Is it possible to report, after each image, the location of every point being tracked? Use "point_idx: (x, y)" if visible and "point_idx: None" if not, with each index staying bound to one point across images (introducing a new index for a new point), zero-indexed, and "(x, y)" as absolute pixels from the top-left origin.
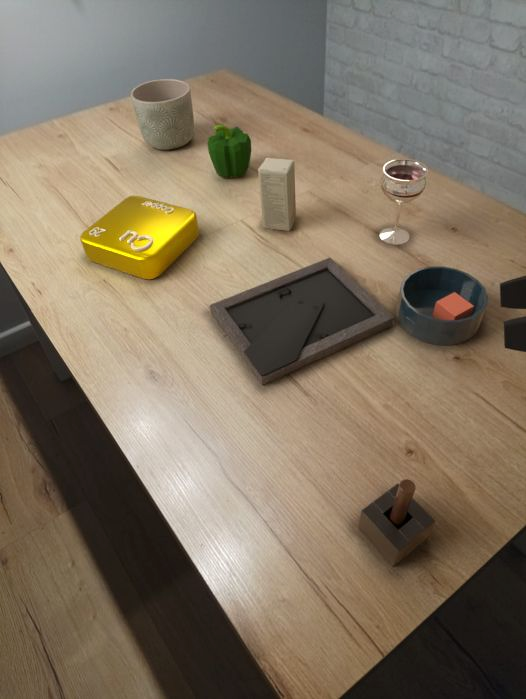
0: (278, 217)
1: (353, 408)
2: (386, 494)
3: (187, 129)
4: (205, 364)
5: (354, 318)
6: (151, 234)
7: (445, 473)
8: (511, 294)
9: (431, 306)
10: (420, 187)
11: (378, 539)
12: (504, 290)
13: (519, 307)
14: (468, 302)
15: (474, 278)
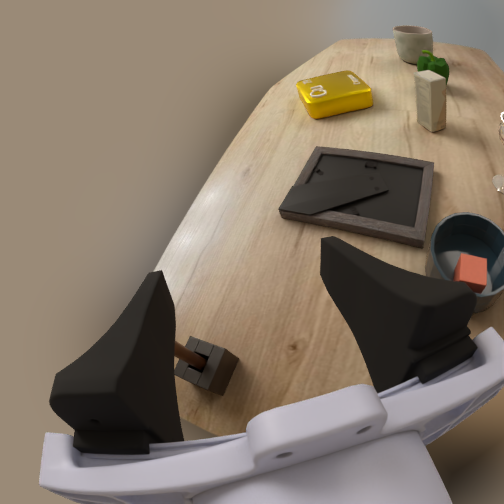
0: (425, 117)
1: (307, 282)
2: (210, 345)
3: (423, 54)
4: (274, 182)
5: (395, 217)
6: (329, 91)
7: (290, 384)
8: (328, 265)
9: None
10: None
11: None
12: (323, 250)
13: (332, 297)
14: (485, 278)
15: None
